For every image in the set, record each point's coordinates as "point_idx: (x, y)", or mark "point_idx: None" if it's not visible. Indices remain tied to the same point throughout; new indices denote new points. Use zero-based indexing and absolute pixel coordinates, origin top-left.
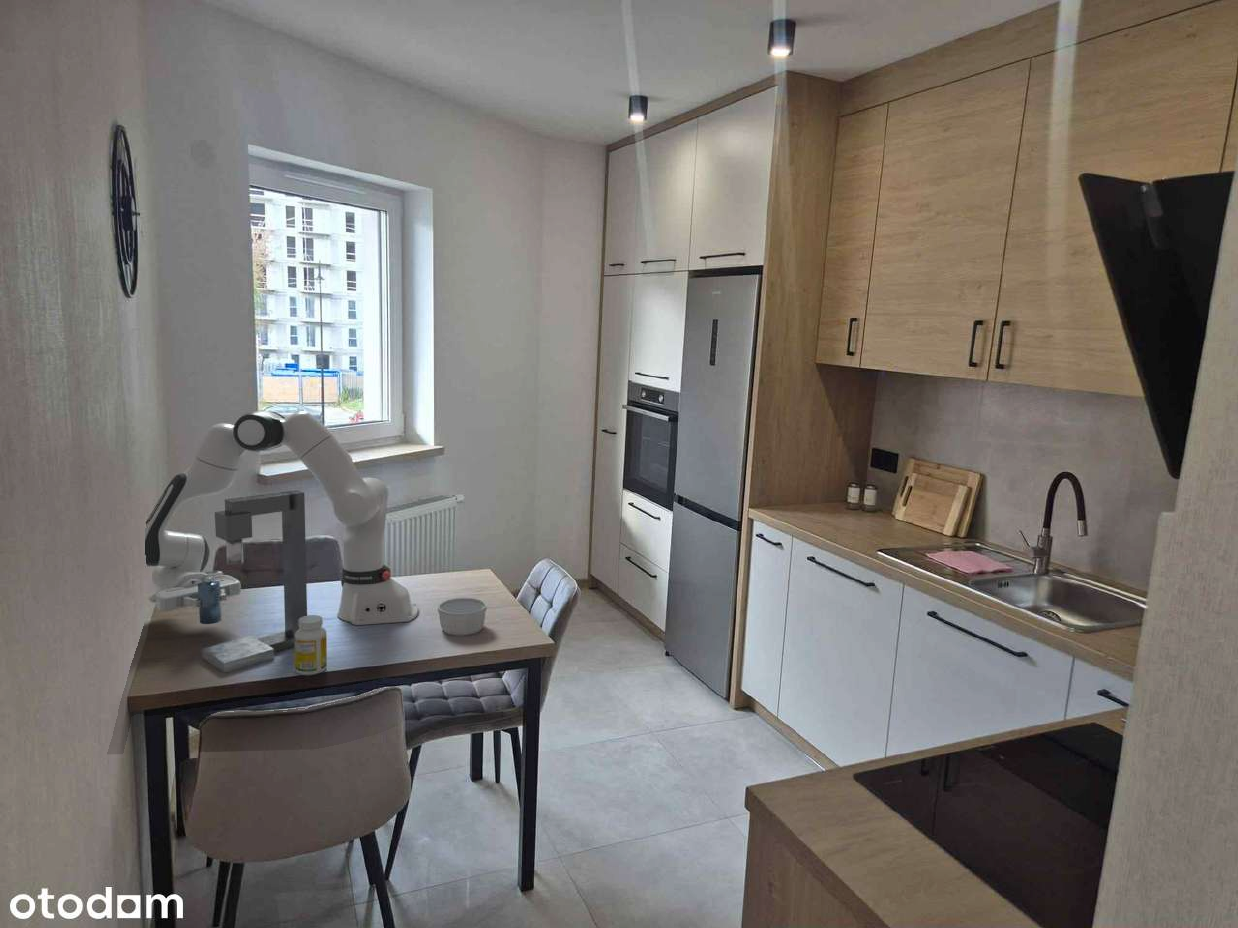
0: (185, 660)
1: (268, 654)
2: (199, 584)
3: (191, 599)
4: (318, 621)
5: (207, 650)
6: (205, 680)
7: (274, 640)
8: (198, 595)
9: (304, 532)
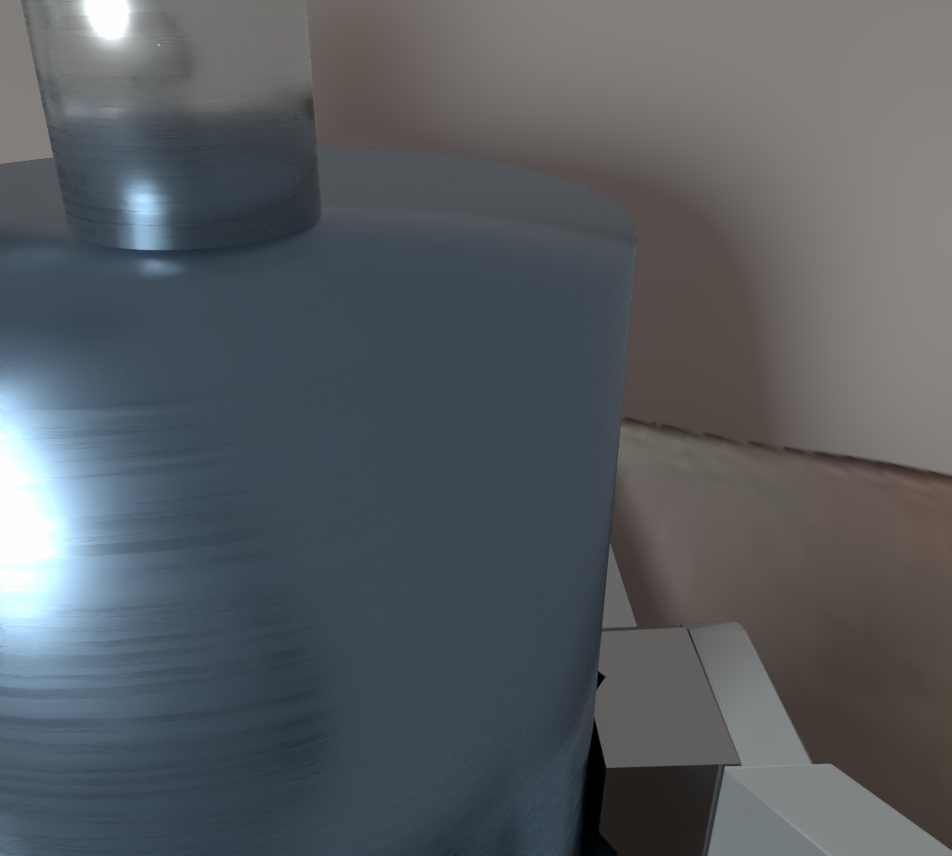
0: None
1: None
2: (550, 261)
3: (829, 773)
4: None
5: (621, 624)
6: (694, 483)
7: None
8: (599, 647)
9: None
